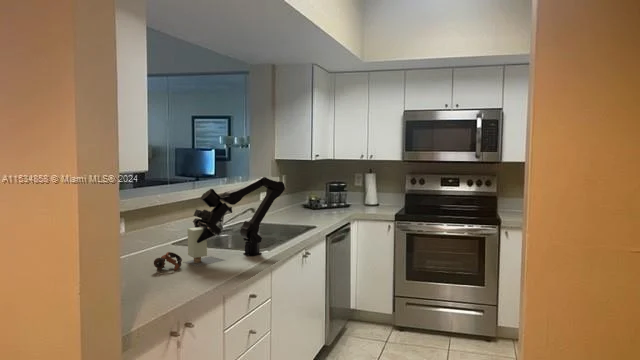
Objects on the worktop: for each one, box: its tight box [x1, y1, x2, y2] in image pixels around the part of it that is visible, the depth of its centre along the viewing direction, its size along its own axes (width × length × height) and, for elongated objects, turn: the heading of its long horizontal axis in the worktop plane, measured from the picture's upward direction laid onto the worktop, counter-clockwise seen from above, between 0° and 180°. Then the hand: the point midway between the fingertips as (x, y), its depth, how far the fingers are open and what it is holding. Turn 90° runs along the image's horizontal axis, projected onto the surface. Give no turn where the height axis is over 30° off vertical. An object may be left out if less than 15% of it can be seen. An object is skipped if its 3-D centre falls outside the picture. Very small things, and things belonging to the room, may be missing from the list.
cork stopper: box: [193, 257, 202, 263], centre depth 211 cm, size 3×3×4 cm
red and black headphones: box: [153, 251, 183, 271], centre depth 199 cm, size 12×9×8 cm
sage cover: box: [187, 227, 208, 259], centre depth 211 cm, size 6×7×12 cm
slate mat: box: [182, 255, 225, 267], centre depth 213 cm, size 15×11×1 cm
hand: (194, 241), depth 210 cm, fingers closed on sage cover, 7 cm apart
